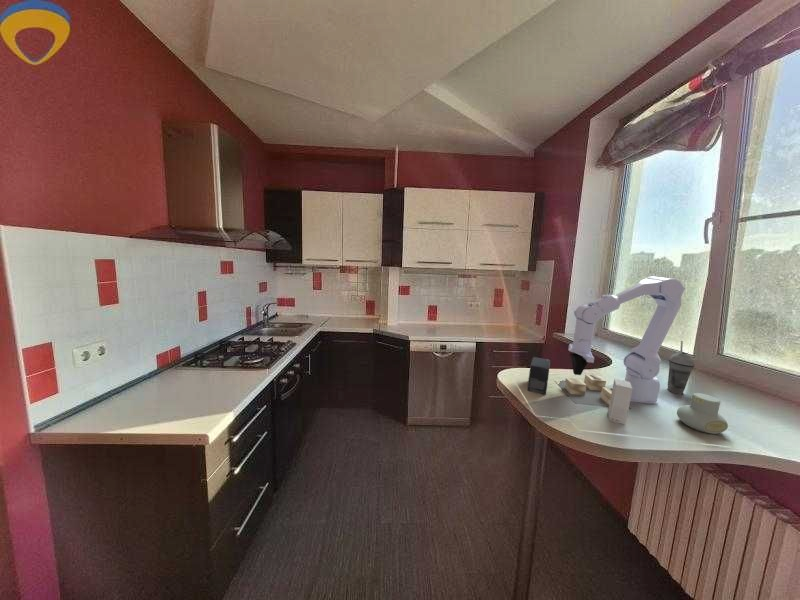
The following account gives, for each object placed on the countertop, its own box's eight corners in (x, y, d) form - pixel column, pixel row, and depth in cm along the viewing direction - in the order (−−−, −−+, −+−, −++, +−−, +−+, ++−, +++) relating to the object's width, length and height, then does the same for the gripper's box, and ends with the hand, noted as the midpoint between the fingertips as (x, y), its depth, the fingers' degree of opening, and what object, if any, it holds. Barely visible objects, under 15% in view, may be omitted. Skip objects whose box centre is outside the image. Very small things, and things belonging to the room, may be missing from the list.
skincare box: (625, 425, 89) (633, 388, 87) (608, 421, 92) (615, 384, 90) (623, 416, 95) (630, 381, 92) (607, 412, 97) (613, 377, 95)
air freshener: (702, 420, 95) (709, 391, 93) (731, 436, 87) (739, 405, 85) (669, 419, 95) (675, 390, 93) (695, 435, 86) (702, 403, 85)
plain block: (578, 389, 112) (579, 379, 111) (584, 395, 107) (586, 385, 106) (564, 387, 112) (565, 377, 112) (570, 393, 108) (571, 383, 107)
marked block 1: (597, 385, 116) (598, 375, 116) (604, 391, 111) (606, 380, 111) (583, 383, 117) (585, 373, 116) (590, 389, 112) (592, 379, 111)
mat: (600, 384, 118) (600, 383, 118) (631, 410, 99) (631, 408, 99) (552, 380, 120) (552, 379, 119) (574, 404, 101) (574, 403, 101)
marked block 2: (615, 398, 106) (617, 387, 105) (624, 406, 101) (626, 394, 100) (600, 397, 106) (602, 386, 105) (608, 404, 101) (610, 393, 100)
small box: (529, 381, 118) (532, 356, 116) (547, 385, 115) (551, 359, 113) (526, 391, 109) (530, 364, 107) (546, 396, 106) (550, 368, 104)
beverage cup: (686, 397, 111) (698, 346, 107) (661, 389, 116) (671, 340, 113) (689, 392, 116) (700, 342, 112) (664, 385, 121) (674, 337, 118)
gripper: (562, 332, 114) (557, 365, 116) (581, 343, 100) (574, 381, 102) (582, 333, 113) (576, 367, 115) (603, 345, 99) (596, 383, 101)
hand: (577, 374), depth 109 cm, fingers closed
